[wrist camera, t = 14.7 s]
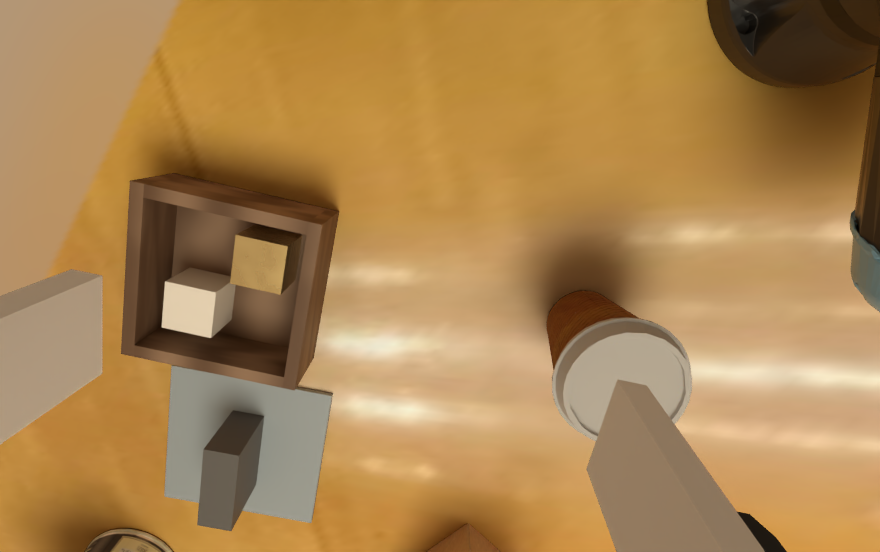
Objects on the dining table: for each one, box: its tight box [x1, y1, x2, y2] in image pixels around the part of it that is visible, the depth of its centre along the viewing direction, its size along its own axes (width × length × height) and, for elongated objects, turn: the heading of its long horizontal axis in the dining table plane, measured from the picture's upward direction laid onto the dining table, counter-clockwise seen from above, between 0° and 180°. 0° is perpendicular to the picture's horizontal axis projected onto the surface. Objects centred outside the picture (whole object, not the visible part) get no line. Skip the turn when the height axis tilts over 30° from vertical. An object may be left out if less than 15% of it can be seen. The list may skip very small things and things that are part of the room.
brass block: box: [230, 225, 302, 295], centre depth 41 cm, size 4×4×4 cm
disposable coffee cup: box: [547, 291, 692, 441], centre depth 39 cm, size 10×10×12 cm
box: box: [121, 173, 339, 391], centre depth 41 cm, size 14×14×6 cm
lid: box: [165, 365, 333, 531], centre depth 47 cm, size 15×15×7 cm
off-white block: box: [162, 267, 236, 338], centre depth 42 cm, size 4×4×4 cm
